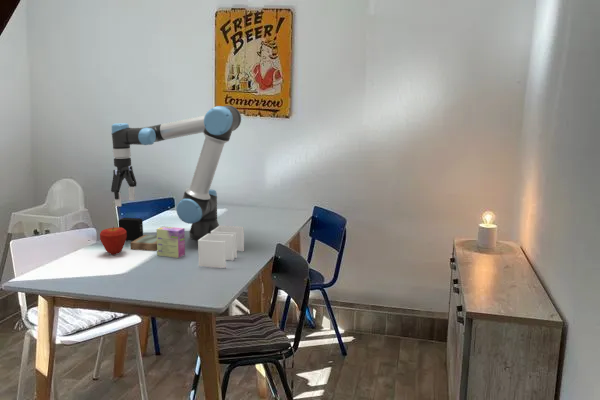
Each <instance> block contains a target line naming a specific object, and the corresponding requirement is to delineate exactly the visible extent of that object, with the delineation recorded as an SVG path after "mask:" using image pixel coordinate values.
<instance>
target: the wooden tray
mask: <svg viewBox="0 0 600 400" xmlns="http://www.w3.org/2000/svg"><path fill="white" fill-rule="evenodd" d="M129 243H130V245H129V246H130V250H136V251H153V252H155V251H156V252H157V234H156V235H152V234H151V235H150V234H143V236H141V237H139V238H138V239H136V240H134V241H130V242H129Z"/></svg>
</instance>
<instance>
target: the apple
mask: <svg viewBox="0 0 600 400" xmlns="http://www.w3.org/2000/svg"><path fill="white" fill-rule="evenodd" d="M126 238H127V233H126V230H125V229H124V228H122V227H119V226H118V227H115V226H112V227H108V228H104V229H102V230H101V231H100V232H99V240H100V243H101V244H102V246H103V248H104V250H105V251H106V252H107V253H108V254H110V255H112V256H113V255H114V256H115V255H118V254H120V253H121V252H122V251H123V248H124V246H125V244H126Z"/></svg>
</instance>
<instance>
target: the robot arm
mask: <svg viewBox="0 0 600 400" xmlns="http://www.w3.org/2000/svg"><path fill="white" fill-rule="evenodd" d="M241 123H242V115H241V112H240V111H239V110H238V109H237V107H234V105H233V106H232V105H224V106H222V105H216V106H214V107H212V108H210V109H209V110H208V111H206V113H205V114H204V115H198V116H193V117H190V118H189V117H188V118H185V119H180V120H175V121H171V122H165V123H162V124H157V125H151V126H145V127H144V126H143V127H130V126H129V123H127V122H126V123H125V122H120V123H119V122H117V123H113V124H112V125H111V139H112V154H113V166H114V167H116V169H113V171H112V173H113V174H112V181H111V188H110V191H111V193H113V195H114V207H122V206H123V205H122V195H121V194H122V193H121V191H120V190H121V187H122V184H123V180H124V179H125V181H126V183H127V184H128V188H127V189H128V201H129V202H130V201H133V202H134V201H136V191H135V187H137V181H136V177H135V174H134V171H133V170H134V169H133V166H132V159H131V156H132V154H131V146H133V145H136V146H137V145H140V146H149V145H150V146H151V145H153V144H154V143H157V142H158V143H159V142H161V141H166V140H172V139H177V138H181V137H187V136H192V135H197V134H202V133H203V135H204V137H205V138H204V141H203V144H202V147H201V150H200V153H199V157H198V160H197V163H196V166H195V169H194V173H193V177H192V179H191V182H190V186H189V187H187V188H185V191H184V193H183V195H182V196H183V197H182V199H181V200H180V201H179V202H178V203H177V204H176V208H175V209H176V214H177V216H178V218H179V219H180V221H182V222H183V223H186V224H191V225H190V229H189V232H188V233H189V235H188V236H189V238H190V239H191V240H194V241H198V240H199V239H201V238H202V237H204V236H205V235H207V234H211V231H212V230H214V229H215V228H217V227H218V226H220V224H219V222H218V196H217V194H218V193H217V190H215V189H212V188H211V186H212V183H213V180H214V177H215V173H216V170H217V168H218V164H219V161H220V159H221V156H222V153H223V149H224V147H225V144H226V143H228V142H229V141H230V139H231V136H232V132H234V131H235V130H238V128H239V127H240V126H241Z"/></svg>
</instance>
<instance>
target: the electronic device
mask: <svg viewBox="0 0 600 400" xmlns="http://www.w3.org/2000/svg"><path fill="white" fill-rule="evenodd" d="M118 227H122V228H124V229H125V230H126V233H127V238H126V241H127V242H132V241H134V240H136V239H138V238H139V237H141V236H143V235H144V223H143V219H142V218H140V217H139V218H137V217H122V218H120V219H118ZM126 241H125V242H126Z"/></svg>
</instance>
